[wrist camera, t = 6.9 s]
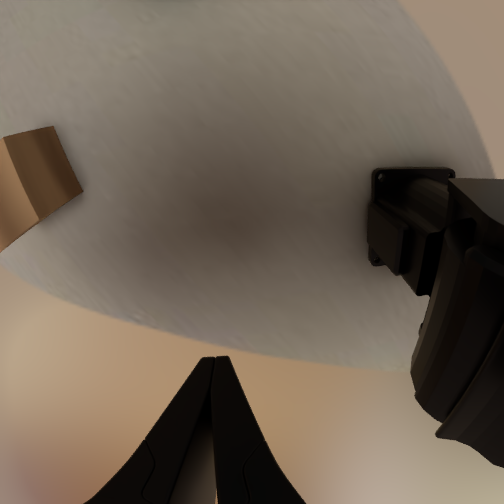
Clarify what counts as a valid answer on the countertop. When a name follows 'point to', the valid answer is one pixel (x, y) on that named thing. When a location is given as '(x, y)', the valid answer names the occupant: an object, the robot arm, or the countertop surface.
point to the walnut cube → (32, 181)
